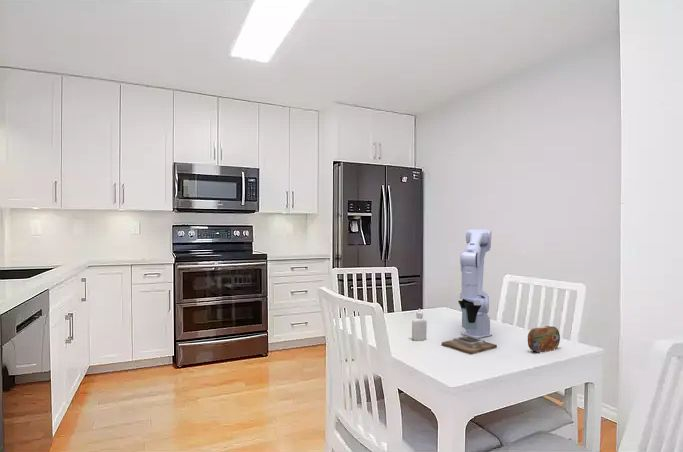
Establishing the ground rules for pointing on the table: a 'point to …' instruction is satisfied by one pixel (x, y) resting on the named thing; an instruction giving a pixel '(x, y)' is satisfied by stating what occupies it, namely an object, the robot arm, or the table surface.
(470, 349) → the dock
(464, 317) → the peg
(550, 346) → the tin
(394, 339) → the table surface
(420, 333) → the eye dropper bottle
